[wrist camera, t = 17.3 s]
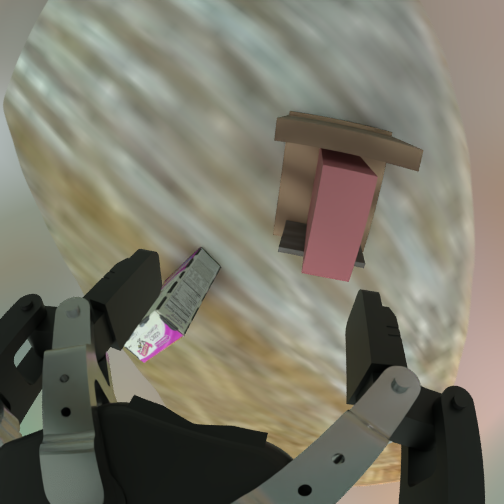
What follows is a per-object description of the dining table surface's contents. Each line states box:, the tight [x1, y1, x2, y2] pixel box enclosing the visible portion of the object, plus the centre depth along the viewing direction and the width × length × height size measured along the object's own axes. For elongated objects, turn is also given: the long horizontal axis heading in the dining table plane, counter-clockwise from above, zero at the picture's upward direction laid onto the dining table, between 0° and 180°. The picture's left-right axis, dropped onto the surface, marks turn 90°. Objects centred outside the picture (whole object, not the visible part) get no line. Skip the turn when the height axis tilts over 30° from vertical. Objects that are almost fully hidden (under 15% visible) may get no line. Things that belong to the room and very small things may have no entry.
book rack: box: [273, 111, 423, 268], centre depth 31 cm, size 17×13×13 cm
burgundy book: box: [302, 148, 378, 282], centre depth 30 cm, size 10×4×14 cm, turn 174°
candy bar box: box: [124, 247, 221, 363], centre depth 42 cm, size 11×5×16 cm, turn 135°
